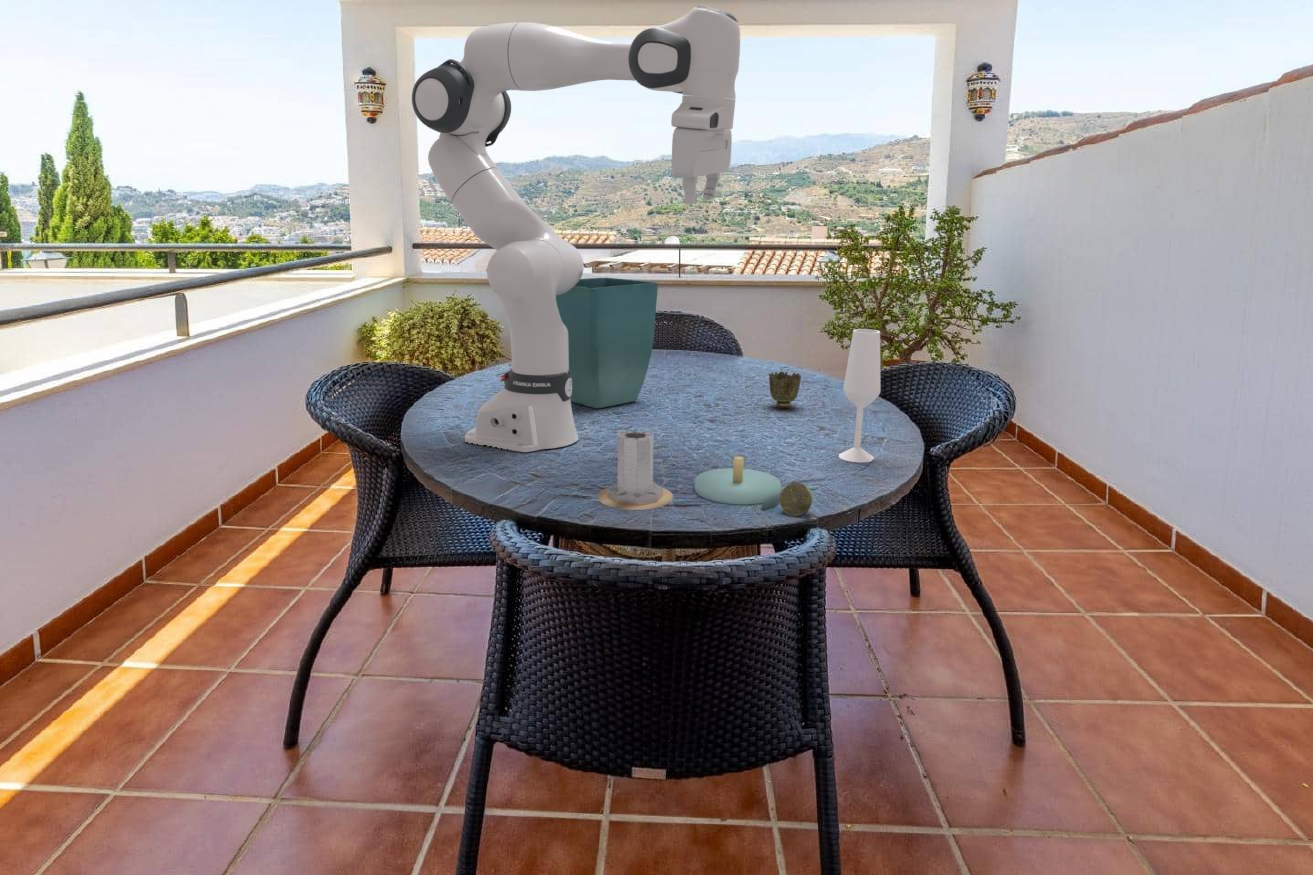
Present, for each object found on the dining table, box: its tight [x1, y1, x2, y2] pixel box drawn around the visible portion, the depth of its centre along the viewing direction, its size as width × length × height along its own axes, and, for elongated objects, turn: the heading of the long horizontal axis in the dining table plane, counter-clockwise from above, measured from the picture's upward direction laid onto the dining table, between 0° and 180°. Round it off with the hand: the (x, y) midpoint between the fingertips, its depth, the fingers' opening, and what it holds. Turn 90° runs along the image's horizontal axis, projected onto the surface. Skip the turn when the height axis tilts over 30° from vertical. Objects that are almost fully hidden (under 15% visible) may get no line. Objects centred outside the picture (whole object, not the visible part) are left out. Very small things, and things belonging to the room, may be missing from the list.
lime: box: [779, 481, 813, 517], centre depth 128 cm, size 4×5×5 cm
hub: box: [694, 456, 782, 511], centre depth 135 cm, size 14×14×6 cm
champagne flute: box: [838, 328, 882, 463], centre depth 154 cm, size 7×7×24 cm
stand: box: [597, 486, 674, 511], centre depth 132 cm, size 12×12×1 cm
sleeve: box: [607, 430, 664, 506], centre depth 130 cm, size 8×8×10 cm
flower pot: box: [556, 277, 659, 409], centre depth 194 cm, size 20×20×28 cm
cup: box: [768, 370, 802, 410], centre depth 193 cm, size 8×7×8 cm
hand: (699, 201), depth 144 cm, fingers open, 8 cm apart
